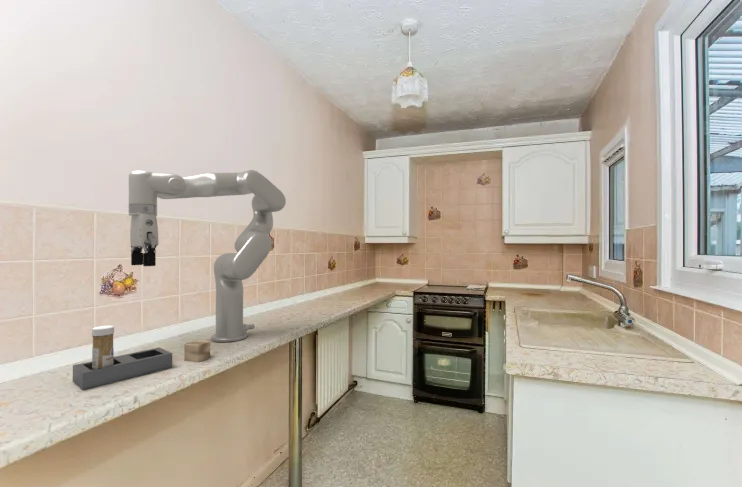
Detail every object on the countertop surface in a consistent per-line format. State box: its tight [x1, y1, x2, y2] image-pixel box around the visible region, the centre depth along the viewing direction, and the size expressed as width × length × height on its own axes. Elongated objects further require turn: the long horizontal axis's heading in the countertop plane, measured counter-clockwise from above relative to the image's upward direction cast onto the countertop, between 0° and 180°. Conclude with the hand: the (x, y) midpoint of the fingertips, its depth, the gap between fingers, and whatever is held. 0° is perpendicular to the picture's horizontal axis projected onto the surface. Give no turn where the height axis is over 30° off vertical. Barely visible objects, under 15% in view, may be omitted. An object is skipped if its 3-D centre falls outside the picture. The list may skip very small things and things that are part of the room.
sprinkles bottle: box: [91, 324, 115, 369], centre depth 90 cm, size 5×5×14 cm
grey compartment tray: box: [72, 347, 173, 391], centre depth 93 cm, size 20×9×4 cm, turn 142°
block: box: [183, 339, 211, 363], centre depth 106 cm, size 5×5×5 cm
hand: (143, 265), depth 109 cm, fingers open, 9 cm apart
